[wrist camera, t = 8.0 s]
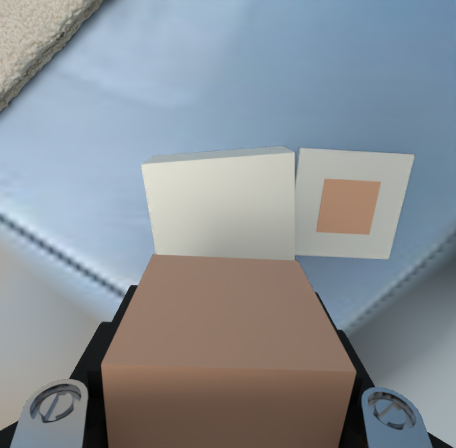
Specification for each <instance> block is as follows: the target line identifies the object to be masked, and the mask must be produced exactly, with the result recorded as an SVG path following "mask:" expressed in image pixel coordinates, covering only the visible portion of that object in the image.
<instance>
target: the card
mask: <svg viewBox="0 0 456 448" xmlns="http://www.w3.org/2000/svg"><path fill="white" fill-rule="evenodd" d="M414 157H415V155H414V154H402V153H385V152H368V151H351V150H334V149H317V148H300V147H299V152H298V160H297V168H296V175H295V255H303V256H325V257H347V258H369V259H389V256H390V252H391V248H392V244H393V240H394V236H395V232H396V228H397V224H398V220H399V216H400V212H401V208H402V204H403V200H404V196H405V192H406V188H407V184H408V180H409V177H410V173H411V169H412V165H413V161H414Z"/></svg>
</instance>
